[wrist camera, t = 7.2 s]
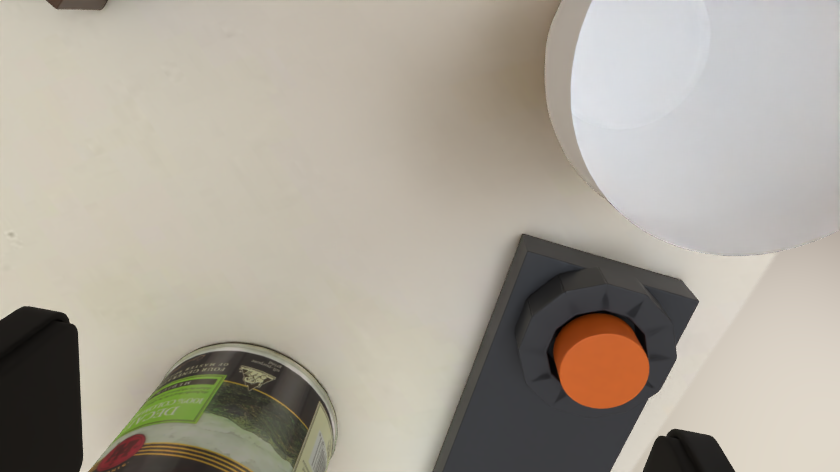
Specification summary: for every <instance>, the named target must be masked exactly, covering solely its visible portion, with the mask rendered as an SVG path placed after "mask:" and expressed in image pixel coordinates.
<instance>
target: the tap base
mask: <svg viewBox="0 0 840 472" xmlns="http://www.w3.org/2000/svg"><path fill="white" fill-rule="evenodd" d="M46 1H48V2H49V3H50V4H51V5H52V6H53V7H55V8H56V9H80V10H101V9H102V8H103V7H104V5H105V3H106V2H107V0H46Z"/></svg>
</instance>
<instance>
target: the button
mask: <svg viewBox="0 0 840 472" xmlns="http://www.w3.org/2000/svg"><path fill="white" fill-rule="evenodd" d="M553 356H554V360H555V364H556V368H557V371H558V375H559V379H560V382H561V385H562V387H563V389H564V391H565V392H566V393H567V395H568V396H569V397H570V398H572V399H573V400H574V401H576V402H577V403H579V404H581V405H584V406H587V407H591V408H598V409H605V408H612V407H617V406H620V405H622V404H625V403H627V402H628V401H630V400H632V399H633V398H634V397H636V396H637V395H638V394H639V393H640V391H641V390H642V389H643V387H644V386H645V384H646V382H647V380H648V376H649V361H648V358H647V355H646V353H645V351H644V350H643V348H642V346H641V344H640V342H639V340H638V339H637V337H636V335H635V333H634V331H633V330H632V328H631V327H630V326H629V325H628V324H627V323H626V322H624V321H623V320H622V319H620V318H618V317H615V316H613V315H609V314H603V313H593V314H587V315H583V316H580V317H578V318H576V319H574V320H572V321H571V322H569V323H568V324H567V325H565V326H564V327H563V328H562V330H561V331H560V332H559V334H558V335H557V337H556V340H555V342H554V347H553Z"/></svg>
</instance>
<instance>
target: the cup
mask: <svg viewBox="0 0 840 472" xmlns="http://www.w3.org/2000/svg"><path fill="white" fill-rule="evenodd" d="M545 93H546V101H547V107H548V112H549V116H550V120H551V123H552V126H553V129H554V132H555V134H556V137H557V139H558V141H559V144H560V146H561V148H562V150H563V152H564V154H565V155H566V157H567V159H568V160H569V162H570V163H571V165H572V166H573V167H574V169H575V170H576V171H577V173H578V174H579V175H580V176H581V177H582V179H583V180H584V181H585V182H586V183H587V184H588V185H589V186H590V187H591V188H592V189H594V190H595V191H596V192H597V193H598V194H599V195H601V196H602V197H603V198H605V199H606V200H607V201H608V202H609V203H610V204H611V205H612V206H614V207H615V208H616V209H617V210H618V211H619V212H620V213H621V214H622V215H623V216H624V217H626V218H627V219H628V220H629V221H630V222H632V223H633V224H634V225H636V226H637V227H639V228H640V229H642V230H643V231H645V232H647V233H648V234H650V235H652V236H654V237H656V238H658V239H660V240H662V241H664V242H667V243H669V244H672V245H674V246H677V247H681V248H684V249H687V250H691V251H696V252H701V253H705V254H714V255H723V256H747V255H760V254H767V253H773V252H779V251H783V250H787V249H791V248H796V247H799V246H802V245H805V244H808V243H811V242H814V241H817V240H819V239H821V238H824V237H826V236H829V235H831V234H833V233H835V232H837V231H839V230H840V0H562V1H561V3H560V5H559V8H558V10H557V12H556V14H555V16H554V19H553V21H552V24H551V27H550V30H549V33H548V37H547V44H546V56H545Z"/></svg>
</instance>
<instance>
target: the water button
mask: <svg viewBox="0 0 840 472" xmlns="http://www.w3.org/2000/svg"><path fill="white" fill-rule="evenodd" d="M698 303H699V300H698V299H697V298H696V297H695V296H694V294H693V293H692V292H691V291H690V290H689V288H688V287H687V286H686V285H685V284H684V282H683V281H682V280H678V279H675V278H672V277H668V276H665V275H661V274H658V273H655V272H651V271H648V270H644V269H641V268H638V267H634V266H631V265H627V264H624V263H621V262H617V261H614V260H610V259H607V258H604V257H600V256H597V255H593V254H590V253H586V252H583V251H580V250H576V249H573V248H569V247H566V246H563V245H559V244H556V243H552V242H549V241H546V240H542V239H539V238H535V237H532V236H529V235H525V234H523V235H522V237H521V239H520V242H519V245H518V247H517V250H516V253H515V255H514V258H513V261H512V263H511V266H510V269H509V271H508V274H507V277H506V279H505V282H504V284H503V287H502V290H501V292H500V295H499V298H498V300H497V303H496V306H495V308H494V311H493V314H492V316H491V319H490V322H489V324H488V327H487V330H486V332H485V335H484V337H483V340H482V343H481V345H480V348H479V351H478V353H477V356H476V359H475V361H474V364H473V367H472V369H471V372H470V375H469V377H468V380H467V383H466V385H465V388H464V390H463V393H462V396H461V398H460V401H459V404H458V406H457V409H456V412H455V414H454V417H453V420H452V422H451V425H450V428H449V430H448V433H447V436H446V438H445V441H444V443H443V446H442V449H441V451H440V454H439V457H438V459H437V462H436V465H435V467H434V470H433V472H610V471H611V469H612V467H613V465H614V463H615V461H616V459H617V457H618V456H619V454H620V452H621V450H622V448H623V446H624V444H625V442H626V440H627V438H628V436H629V435H630V433H631V431H632V429H633V427H634V425H635V423H636V421H637V419H638V417H639V415H640V414H641V412H642V410H643V408H644V406H645V404H646V402H647V400H648V398H650V397H651V396H653V395H654V394H656V393H657V392H659V390H660V389H661V387H662V385H663V384H664V382H665V380H666V378H667V376H668V374H669V372H670V370H671V368H672V367H673V365H674V363H675V361H676V358H677V354H676V345H677V343H678V341H679V339H680V337H681V335H682V333H683V332H684V330H685V328H686V326H687V324H688V322H689V320H690V318H691V316H692V314H693V313H694V311H695V309H696V307H697V305H698ZM593 313H603V314H609V315H613V316H615V317H618V318H620V319H622V320H623V321H624V322H626V323H627V324H628V325H629V326H630V327H631V328H632V330H633V331H634V333H635V335H636V337H637V339H638V340H639V342H640V344H641V346H642V348H643V350H644V351H645V353H646V355H647V358H648V361H649V376H648V380H647V382H646V384H645V386H644V387H643V389H642V390H641V391H640V393H639V394H638V395H637V396H636V397H634V398H633V399H632V400H630V401H628V402H627V403H625V404H622V405H620V406H617V407H612V408H605V409H598V408H591V407H587V406H584V405H581V404H579V403H577V402H576V401H574V400H573V399H572V398H570V397H569V396H568V395H567V393H566V392H565V391H564V389H563V387H562V385H561V382H560V379H559V375H558V371H557V368H556V364H555V360H554V356H553V347H554V342H555V340H556V337H557V335H558V334H559V332H560V331H561V330H562V328H563V327H564V326H565V325H567V324H568V323H569V322H571V321H572V320H574V319H576V318H578V317H580V316H583V315H587V314H593Z"/></svg>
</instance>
